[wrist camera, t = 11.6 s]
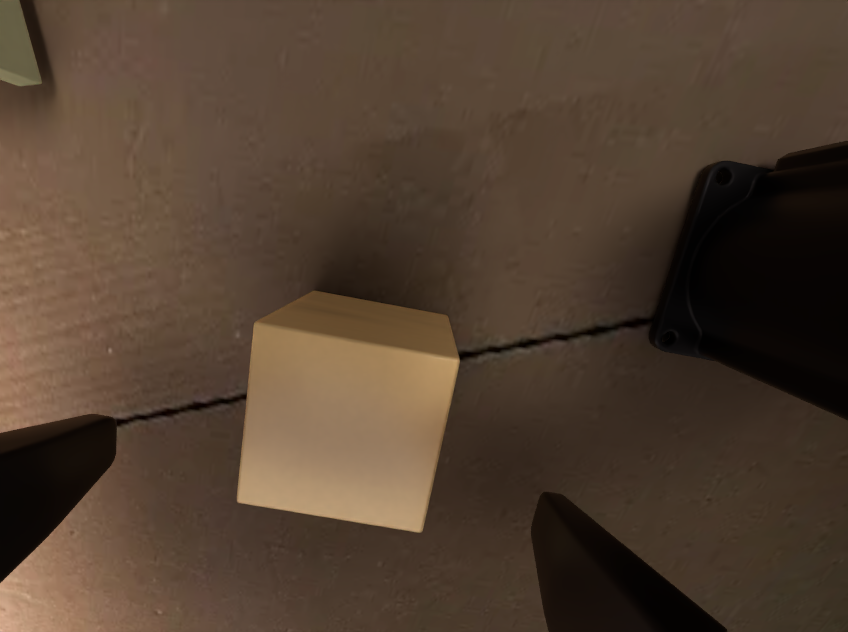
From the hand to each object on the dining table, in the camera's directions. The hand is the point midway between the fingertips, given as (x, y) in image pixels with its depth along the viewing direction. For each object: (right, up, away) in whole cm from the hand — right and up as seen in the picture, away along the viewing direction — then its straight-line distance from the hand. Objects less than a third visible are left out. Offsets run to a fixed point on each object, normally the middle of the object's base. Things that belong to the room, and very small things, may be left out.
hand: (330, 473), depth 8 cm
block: (0, +1, +6) cm, 7 cm away
